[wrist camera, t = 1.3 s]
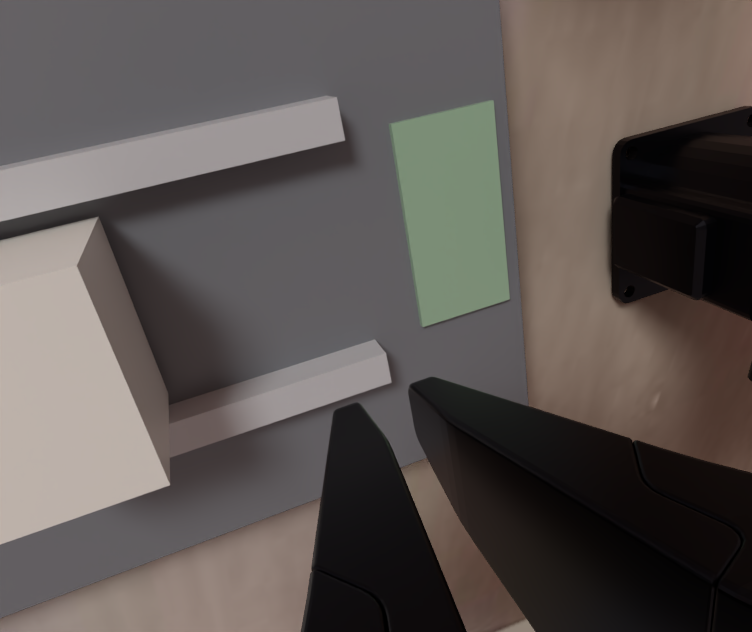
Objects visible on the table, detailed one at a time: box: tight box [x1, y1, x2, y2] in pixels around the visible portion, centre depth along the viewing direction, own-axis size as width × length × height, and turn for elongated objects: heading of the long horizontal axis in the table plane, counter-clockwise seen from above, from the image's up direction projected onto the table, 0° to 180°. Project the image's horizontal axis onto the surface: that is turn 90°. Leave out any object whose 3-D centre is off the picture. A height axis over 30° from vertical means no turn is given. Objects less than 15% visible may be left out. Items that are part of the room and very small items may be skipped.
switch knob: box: [0, 216, 170, 545], centre depth 13 cm, size 4×5×4 cm
